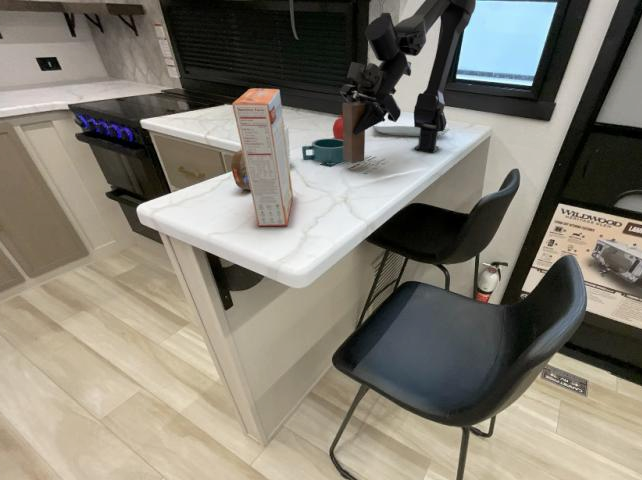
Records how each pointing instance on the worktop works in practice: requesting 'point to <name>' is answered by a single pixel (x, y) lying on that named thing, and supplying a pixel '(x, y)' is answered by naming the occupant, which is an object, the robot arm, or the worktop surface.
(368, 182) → the worktop surface
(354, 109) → the block
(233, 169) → the tin
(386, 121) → the square plate
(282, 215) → the cracker box
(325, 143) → the teal mug
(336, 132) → the pomegranate
